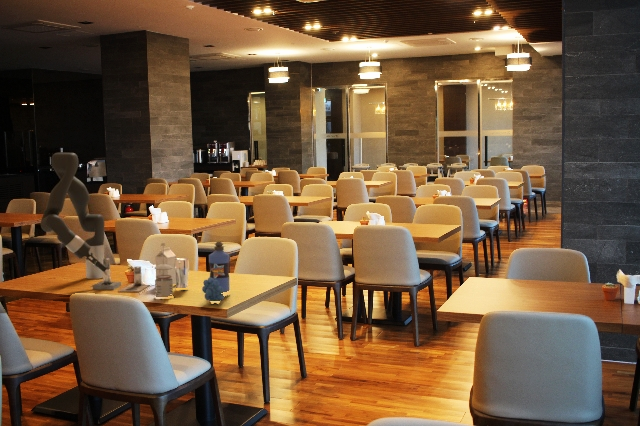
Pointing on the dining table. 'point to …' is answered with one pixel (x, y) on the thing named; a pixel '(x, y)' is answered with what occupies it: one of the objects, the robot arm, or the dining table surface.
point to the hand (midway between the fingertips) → (103, 268)
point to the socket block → (106, 286)
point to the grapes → (212, 290)
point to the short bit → (137, 276)
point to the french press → (166, 285)
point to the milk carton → (169, 260)
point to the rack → (134, 288)
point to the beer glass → (181, 272)
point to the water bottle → (220, 266)
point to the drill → (106, 271)
